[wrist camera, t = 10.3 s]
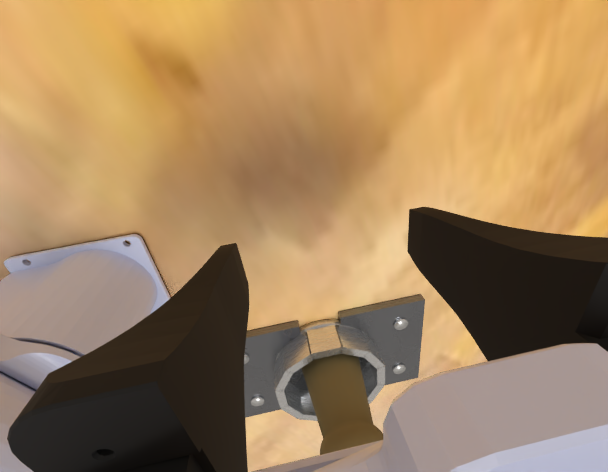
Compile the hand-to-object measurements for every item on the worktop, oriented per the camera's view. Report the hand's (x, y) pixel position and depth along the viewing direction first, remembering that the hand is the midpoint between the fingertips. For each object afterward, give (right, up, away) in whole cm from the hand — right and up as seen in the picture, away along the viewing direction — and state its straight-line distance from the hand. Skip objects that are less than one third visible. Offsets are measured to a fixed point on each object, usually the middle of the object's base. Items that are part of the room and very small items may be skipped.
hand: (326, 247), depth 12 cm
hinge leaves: (+1, -12, +19) cm, 23 cm away
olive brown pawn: (+1, -11, +18) cm, 21 cm away
